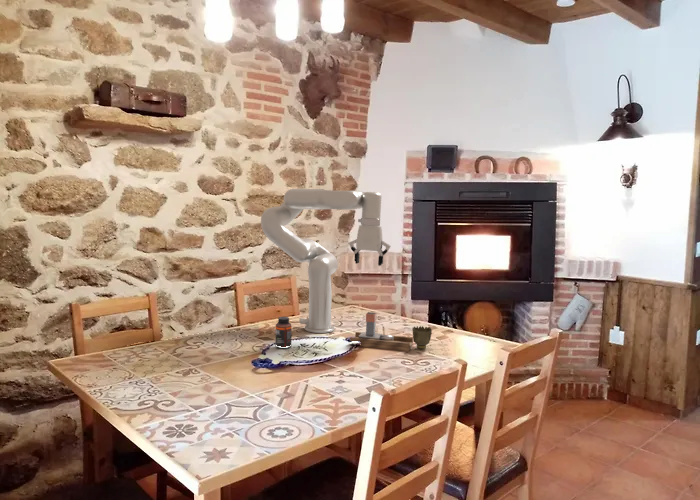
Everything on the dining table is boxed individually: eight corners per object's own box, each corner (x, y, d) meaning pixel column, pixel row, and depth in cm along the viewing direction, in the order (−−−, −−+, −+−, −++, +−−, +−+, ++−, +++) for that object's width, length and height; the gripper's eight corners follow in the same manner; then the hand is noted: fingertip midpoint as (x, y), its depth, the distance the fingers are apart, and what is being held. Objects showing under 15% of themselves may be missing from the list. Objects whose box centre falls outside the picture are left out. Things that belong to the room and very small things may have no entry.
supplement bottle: (292, 345, 213) (293, 316, 212) (289, 350, 207) (290, 320, 206) (277, 344, 214) (277, 315, 213) (273, 349, 208) (274, 319, 207)
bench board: (349, 345, 216) (349, 338, 216) (356, 338, 226) (356, 331, 225) (408, 351, 210) (409, 343, 210) (412, 344, 220) (413, 337, 220)
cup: (432, 351, 210) (433, 331, 209) (412, 351, 211) (413, 330, 210) (429, 346, 218) (430, 326, 217) (410, 345, 218) (411, 325, 217)
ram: (358, 340, 217) (359, 314, 216) (362, 336, 223) (363, 310, 222) (391, 344, 214) (392, 317, 213) (394, 340, 220) (395, 313, 218)
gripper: (347, 221, 226) (345, 263, 228) (389, 224, 221) (386, 267, 223) (353, 220, 234) (351, 261, 236) (393, 223, 228) (391, 265, 230)
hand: (368, 264), depth 229 cm, fingers open, 9 cm apart
